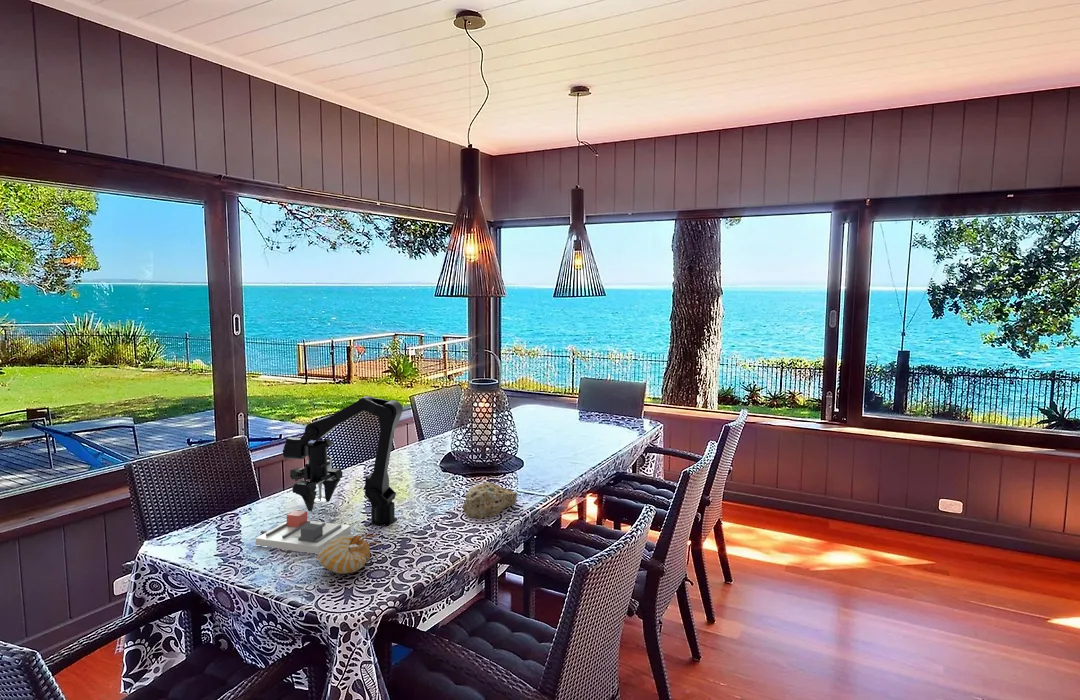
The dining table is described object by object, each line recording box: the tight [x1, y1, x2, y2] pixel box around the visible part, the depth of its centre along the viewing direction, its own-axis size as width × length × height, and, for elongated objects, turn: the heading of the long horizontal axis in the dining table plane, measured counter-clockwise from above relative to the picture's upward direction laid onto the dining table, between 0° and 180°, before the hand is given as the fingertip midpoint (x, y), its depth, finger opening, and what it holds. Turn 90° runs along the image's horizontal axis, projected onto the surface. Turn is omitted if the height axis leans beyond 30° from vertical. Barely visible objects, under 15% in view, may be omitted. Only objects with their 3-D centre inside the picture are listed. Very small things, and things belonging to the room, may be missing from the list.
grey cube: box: [301, 523, 323, 542], centre depth 172 cm, size 4×4×4 cm
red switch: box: [286, 509, 308, 527], centre depth 182 cm, size 4×4×4 cm
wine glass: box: [306, 455, 332, 501], centre depth 211 cm, size 8×8×15 cm
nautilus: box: [316, 530, 383, 575], centre depth 161 cm, size 8×22×15 cm
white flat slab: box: [255, 520, 352, 555], centre depth 178 cm, size 26×16×3 cm, turn 75°
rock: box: [461, 482, 518, 519], centre depth 204 cm, size 21×14×10 cm
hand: (319, 506), depth 193 cm, fingers open, 9 cm apart
